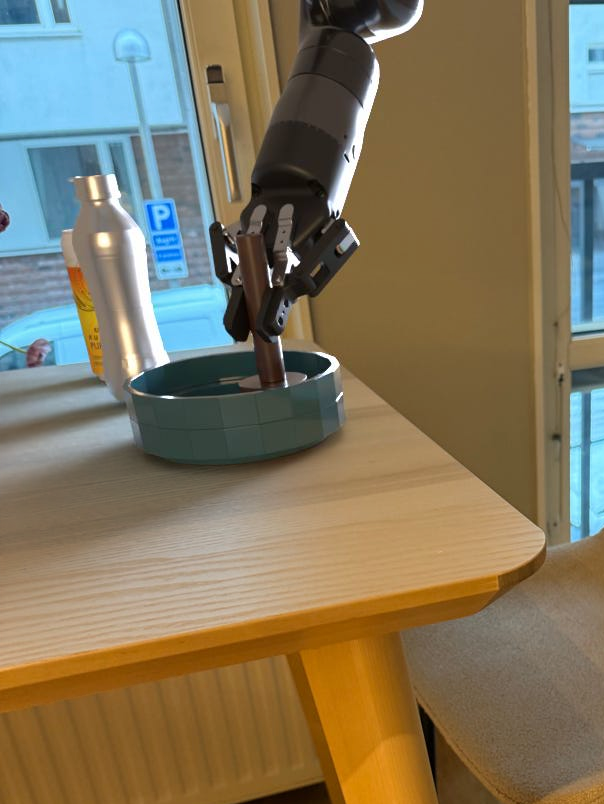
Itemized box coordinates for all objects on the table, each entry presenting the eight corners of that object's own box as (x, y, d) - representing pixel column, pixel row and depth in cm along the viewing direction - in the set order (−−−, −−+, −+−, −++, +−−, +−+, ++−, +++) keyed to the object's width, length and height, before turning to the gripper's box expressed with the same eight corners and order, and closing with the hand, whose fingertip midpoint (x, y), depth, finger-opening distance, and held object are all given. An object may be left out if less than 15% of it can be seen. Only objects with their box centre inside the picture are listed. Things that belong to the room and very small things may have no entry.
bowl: (104, 473, 72) (86, 402, 69) (179, 413, 87) (167, 353, 84) (324, 466, 70) (314, 393, 68) (361, 407, 85) (354, 345, 83)
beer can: (96, 385, 99) (58, 233, 92) (92, 374, 104) (56, 229, 97) (154, 377, 101) (121, 227, 94) (148, 367, 106) (117, 224, 99)
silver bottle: (176, 389, 95) (131, 172, 86) (179, 404, 90) (131, 174, 80) (111, 397, 94) (57, 177, 84) (109, 413, 88) (52, 179, 78)
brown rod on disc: (234, 414, 75) (201, 241, 69) (252, 396, 80) (223, 233, 74) (302, 411, 75) (275, 236, 68) (316, 393, 79) (293, 229, 73)
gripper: (215, 122, 76) (149, 306, 72) (363, 111, 71) (300, 308, 67) (264, 189, 82) (205, 360, 79) (402, 183, 77) (347, 366, 73)
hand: (249, 335), depth 73 cm, fingers closed on brown rod on disc
